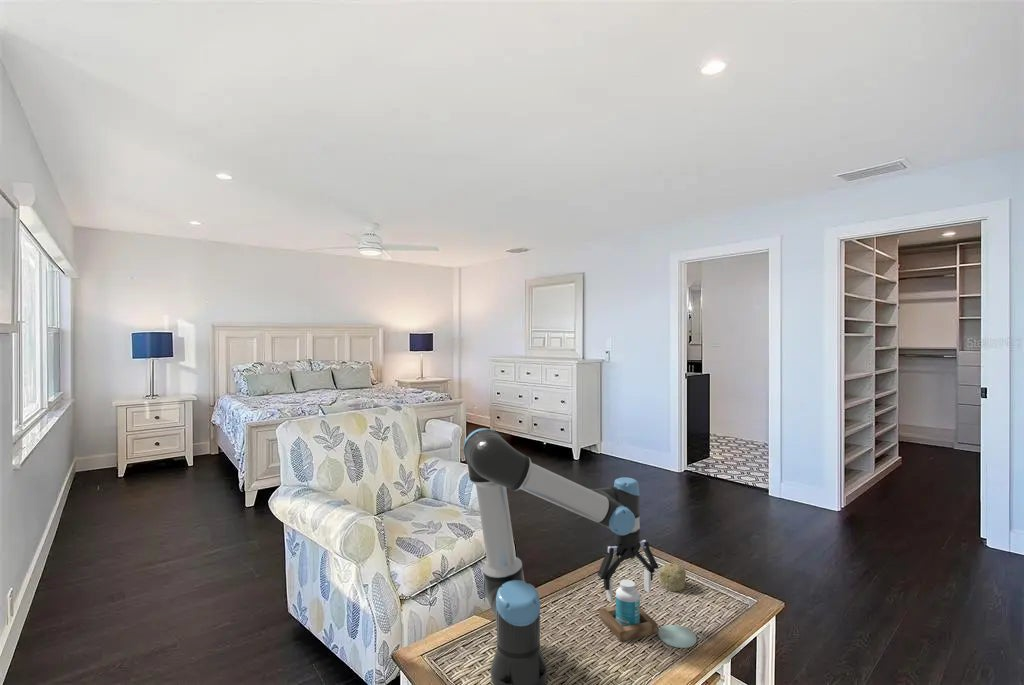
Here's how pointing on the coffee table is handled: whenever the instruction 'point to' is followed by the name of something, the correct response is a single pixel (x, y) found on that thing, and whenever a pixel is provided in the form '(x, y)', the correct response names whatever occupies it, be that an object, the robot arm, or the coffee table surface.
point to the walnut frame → (628, 632)
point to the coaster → (677, 636)
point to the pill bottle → (627, 604)
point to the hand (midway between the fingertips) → (628, 595)
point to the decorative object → (672, 577)
